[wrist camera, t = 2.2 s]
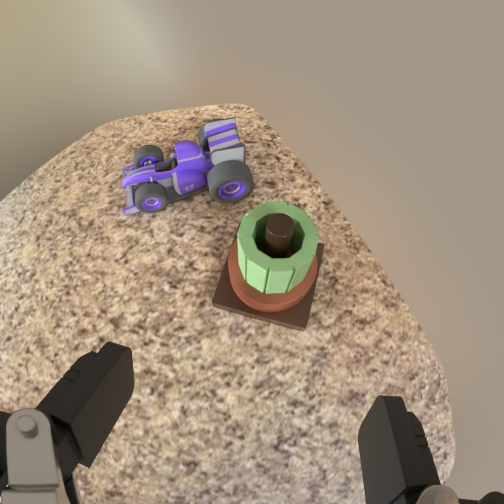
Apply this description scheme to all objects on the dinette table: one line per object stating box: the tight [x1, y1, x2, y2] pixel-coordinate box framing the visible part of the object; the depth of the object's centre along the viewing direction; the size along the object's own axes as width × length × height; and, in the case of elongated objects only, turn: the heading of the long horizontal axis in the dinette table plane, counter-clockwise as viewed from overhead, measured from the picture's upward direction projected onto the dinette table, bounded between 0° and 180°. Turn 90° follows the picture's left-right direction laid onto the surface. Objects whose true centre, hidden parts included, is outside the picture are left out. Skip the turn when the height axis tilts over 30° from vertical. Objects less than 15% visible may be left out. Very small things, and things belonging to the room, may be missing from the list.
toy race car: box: [122, 117, 254, 215], centre depth 34 cm, size 10×15×6 cm, turn 104°
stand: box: [212, 213, 324, 331], centre depth 27 cm, size 9×9×10 cm
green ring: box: [237, 202, 319, 294], centre depth 26 cm, size 6×6×5 cm
